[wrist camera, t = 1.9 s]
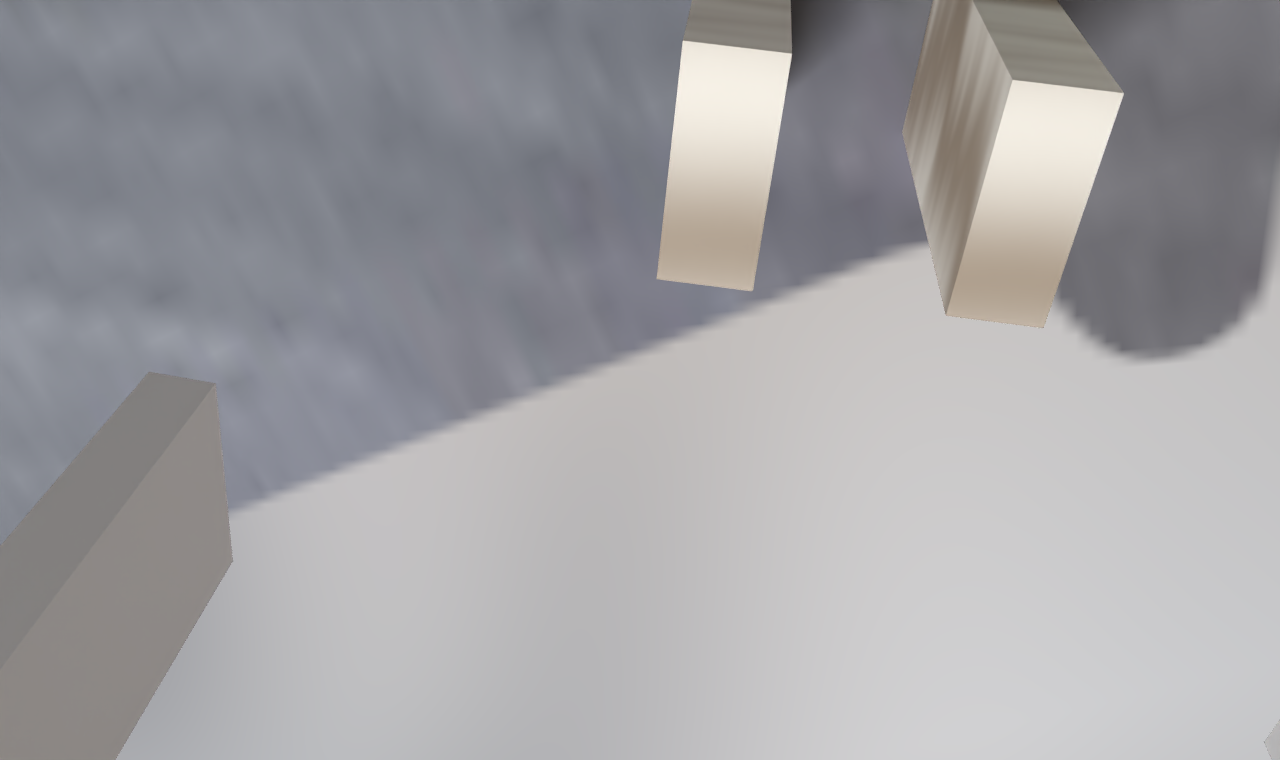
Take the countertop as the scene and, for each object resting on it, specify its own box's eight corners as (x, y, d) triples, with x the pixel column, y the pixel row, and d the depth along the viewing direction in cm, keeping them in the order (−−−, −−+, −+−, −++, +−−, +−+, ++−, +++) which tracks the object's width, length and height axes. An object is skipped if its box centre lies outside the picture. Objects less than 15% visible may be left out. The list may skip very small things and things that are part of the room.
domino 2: (945, -54, 29) (1012, 79, 20) (1024, -45, 29) (1124, 93, 20) (902, 132, 31) (945, 315, 23) (974, 141, 31) (1043, 327, 23)
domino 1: (710, -82, 29) (682, 40, 21) (788, -73, 29) (792, 53, 21) (688, 106, 32) (656, 278, 23) (759, 115, 32) (752, 291, 23)
